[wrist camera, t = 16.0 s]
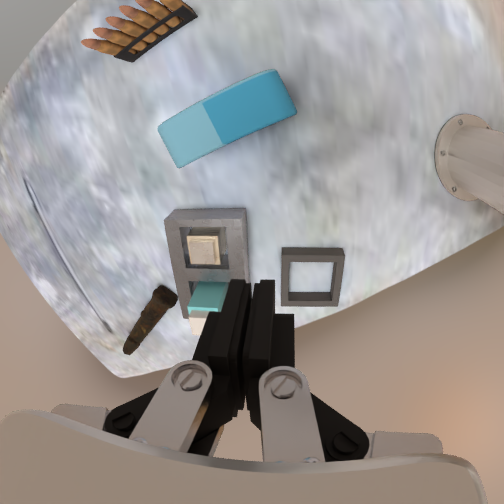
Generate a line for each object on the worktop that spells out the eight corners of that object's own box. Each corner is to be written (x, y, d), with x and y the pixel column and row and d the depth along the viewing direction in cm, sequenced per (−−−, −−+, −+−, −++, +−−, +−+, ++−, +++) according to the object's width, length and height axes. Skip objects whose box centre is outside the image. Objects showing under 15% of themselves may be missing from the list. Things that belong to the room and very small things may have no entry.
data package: (206, 152, 35) (172, 172, 24) (191, 122, 33) (150, 129, 23) (293, 113, 32) (299, 113, 21) (278, 81, 30) (275, 65, 19)
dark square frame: (342, 248, 39) (344, 255, 37) (335, 297, 43) (337, 306, 41) (281, 247, 40) (281, 255, 38) (281, 297, 44) (280, 306, 42)
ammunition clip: (132, 63, 30) (78, 53, 19) (126, 54, 29) (72, 42, 18) (198, 16, 26) (162, -17, 16) (191, 8, 26) (154, -26, 15)
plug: (229, 272, 43) (215, 315, 34) (231, 294, 45) (219, 339, 36) (203, 272, 43) (183, 313, 34) (206, 293, 45) (189, 337, 36)
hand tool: (161, 280, 45) (150, 296, 41) (180, 295, 46) (171, 312, 42) (120, 333, 53) (111, 348, 49) (136, 345, 54) (127, 360, 50)
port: (245, 208, 38) (239, 222, 33) (250, 305, 45) (246, 328, 40) (174, 209, 39) (159, 224, 34) (190, 302, 46) (180, 323, 42)
